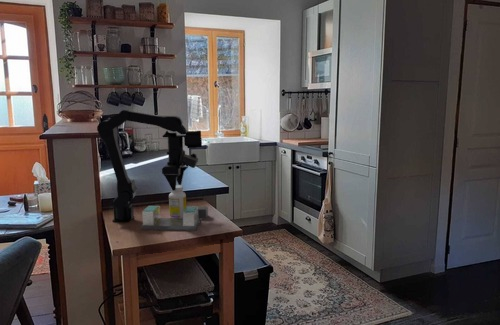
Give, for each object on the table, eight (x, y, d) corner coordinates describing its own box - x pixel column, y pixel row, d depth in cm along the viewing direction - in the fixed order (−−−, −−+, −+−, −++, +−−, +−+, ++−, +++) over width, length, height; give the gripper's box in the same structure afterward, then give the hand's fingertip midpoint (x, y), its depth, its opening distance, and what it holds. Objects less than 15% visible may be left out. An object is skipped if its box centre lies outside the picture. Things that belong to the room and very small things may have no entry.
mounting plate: (141, 229, 140) (140, 211, 139) (149, 221, 149) (148, 204, 148) (195, 230, 139) (194, 212, 138) (200, 222, 148) (199, 205, 147)
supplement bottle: (182, 214, 159) (181, 183, 156) (189, 218, 153) (188, 187, 151) (167, 216, 155) (166, 185, 153) (173, 221, 150) (172, 189, 147)
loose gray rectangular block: (193, 218, 153) (193, 209, 152) (195, 215, 157) (195, 206, 156) (206, 219, 152) (205, 209, 152) (207, 216, 156) (207, 206, 156)
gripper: (190, 152, 139) (191, 193, 142) (200, 145, 158) (201, 182, 160) (160, 152, 140) (162, 193, 143) (174, 145, 158) (175, 182, 161)
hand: (177, 187), depth 152 cm, fingers open, 9 cm apart
